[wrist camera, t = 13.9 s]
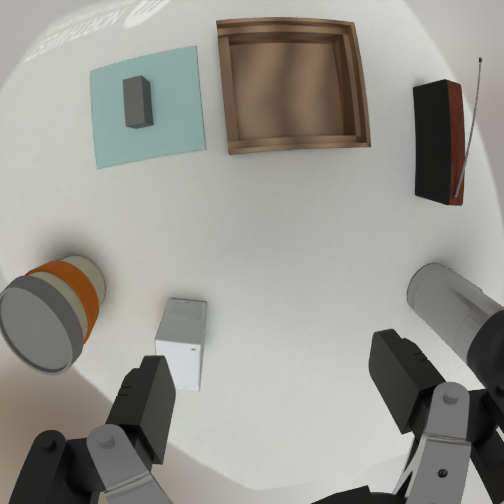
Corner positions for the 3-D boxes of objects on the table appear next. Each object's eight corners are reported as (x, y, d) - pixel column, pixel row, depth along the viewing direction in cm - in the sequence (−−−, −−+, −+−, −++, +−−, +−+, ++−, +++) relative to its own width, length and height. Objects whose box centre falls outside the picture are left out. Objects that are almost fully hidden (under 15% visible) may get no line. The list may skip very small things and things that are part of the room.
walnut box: (337, 38, 31) (354, 22, 25) (350, 147, 36) (371, 147, 30) (218, 40, 31) (216, 20, 25) (229, 154, 36) (228, 154, 30)
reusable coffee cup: (82, 227, 37) (21, 264, 23) (132, 296, 41) (95, 358, 27) (37, 270, 39) (-18, 312, 25) (82, 329, 43) (42, 387, 28)
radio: (429, 195, 39) (497, 217, 25) (414, 195, 39) (482, 217, 25) (426, 79, 33) (493, 63, 19) (411, 75, 33) (477, 55, 19)
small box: (169, 296, 42) (153, 338, 32) (207, 301, 42) (201, 343, 32) (169, 341, 44) (156, 387, 34) (204, 345, 45) (199, 392, 35)
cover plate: (196, 48, 32) (192, 34, 27) (206, 149, 36) (202, 148, 31) (93, 72, 31) (77, 64, 26) (100, 168, 36) (83, 171, 31)
